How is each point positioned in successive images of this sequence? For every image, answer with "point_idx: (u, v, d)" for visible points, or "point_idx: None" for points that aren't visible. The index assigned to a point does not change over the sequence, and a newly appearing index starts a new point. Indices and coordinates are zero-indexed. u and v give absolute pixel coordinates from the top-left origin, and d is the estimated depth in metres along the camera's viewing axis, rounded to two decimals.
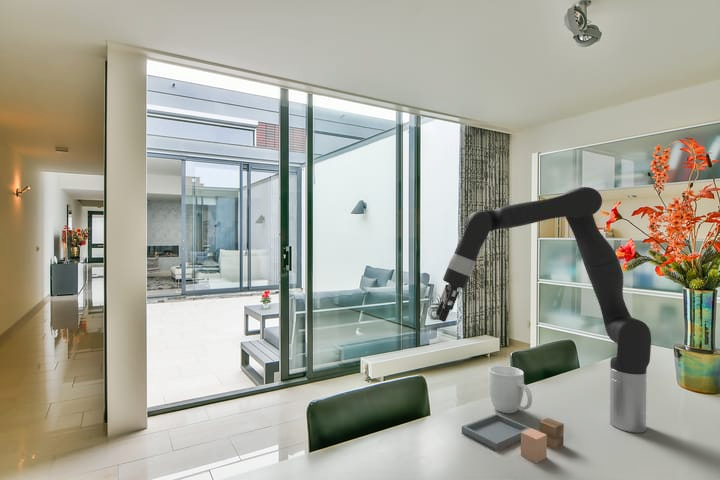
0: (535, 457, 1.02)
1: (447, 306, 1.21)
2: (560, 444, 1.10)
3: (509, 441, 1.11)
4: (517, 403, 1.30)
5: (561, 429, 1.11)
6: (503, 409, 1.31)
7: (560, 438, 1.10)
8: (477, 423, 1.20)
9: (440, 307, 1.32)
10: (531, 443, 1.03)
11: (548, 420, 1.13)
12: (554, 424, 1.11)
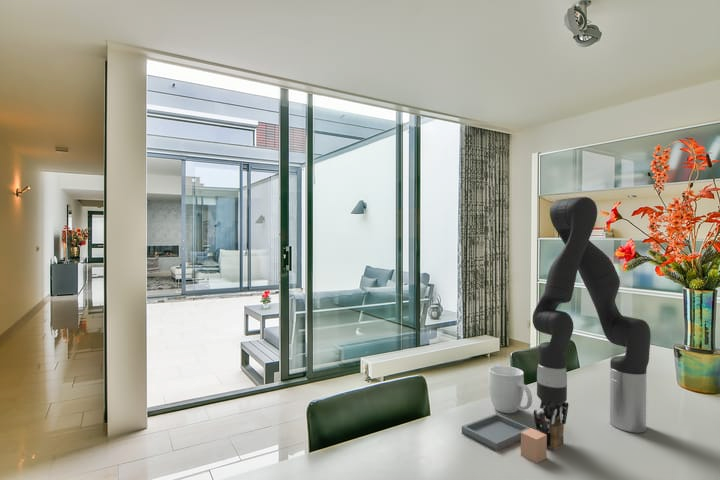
0: (535, 457, 1.02)
1: (538, 429, 1.09)
2: (560, 444, 1.10)
3: (509, 441, 1.11)
4: (517, 403, 1.30)
5: (561, 429, 1.11)
6: (503, 409, 1.31)
7: (560, 438, 1.10)
8: (477, 423, 1.20)
9: None
10: (531, 443, 1.03)
11: (548, 420, 1.13)
12: (554, 424, 1.11)
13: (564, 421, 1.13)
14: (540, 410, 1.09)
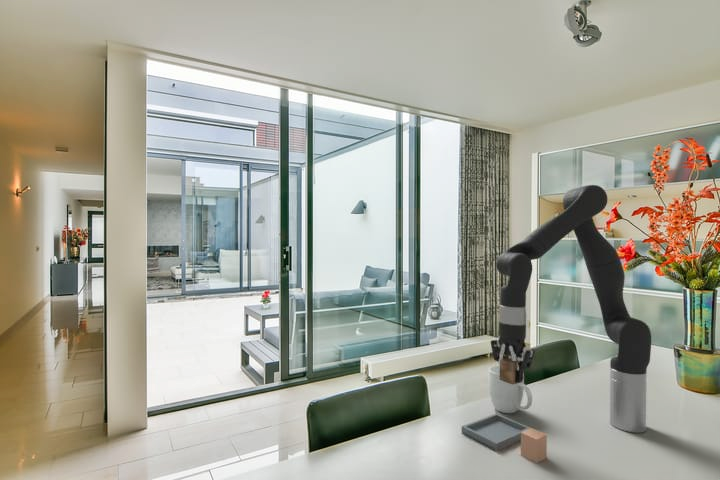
0: (535, 457, 1.02)
1: (526, 367, 1.12)
2: None
3: (509, 441, 1.11)
4: (517, 403, 1.30)
5: None
6: (503, 409, 1.31)
7: None
8: (477, 423, 1.20)
9: None
10: (531, 443, 1.03)
11: (507, 360, 1.17)
12: None
13: None
14: (528, 349, 1.13)
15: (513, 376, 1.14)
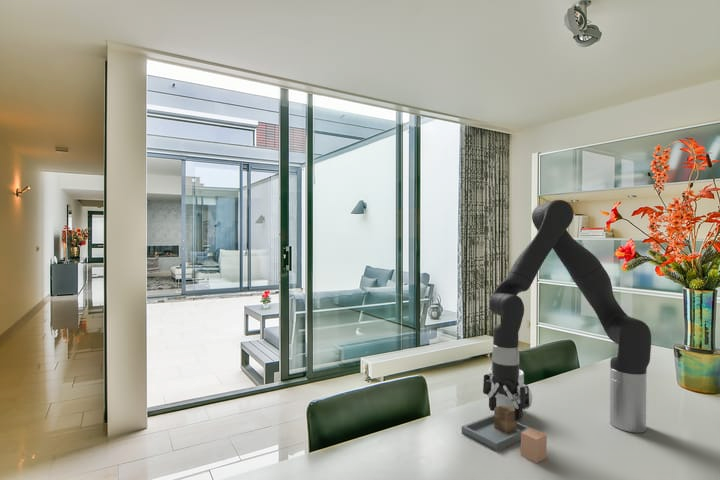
0: (535, 457, 1.02)
1: (525, 406, 1.13)
2: None
3: (509, 441, 1.11)
4: None
5: None
6: None
7: None
8: (477, 423, 1.20)
9: (493, 401, 1.22)
10: (531, 443, 1.03)
11: (501, 408, 1.19)
12: (508, 408, 1.20)
13: None
14: (521, 386, 1.15)
15: (508, 425, 1.16)
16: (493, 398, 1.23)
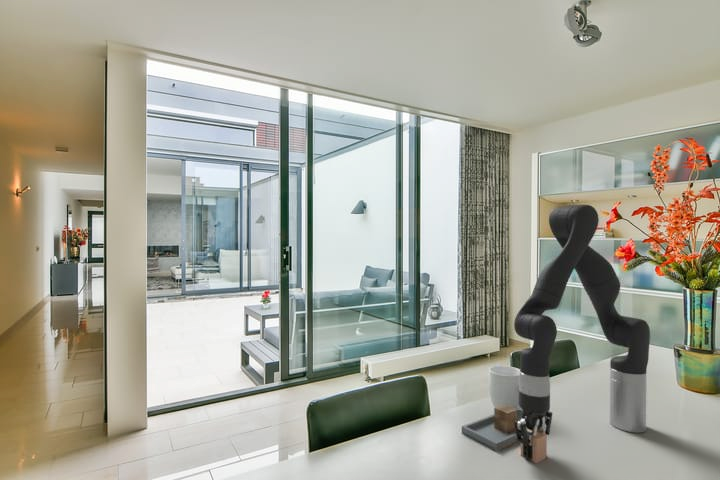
0: (535, 457, 1.02)
1: (520, 440, 1.03)
2: None
3: (509, 441, 1.11)
4: (517, 403, 1.30)
5: None
6: None
7: None
8: (477, 423, 1.20)
9: None
10: None
11: (501, 408, 1.19)
12: (508, 408, 1.20)
13: (547, 432, 1.07)
14: (521, 421, 1.02)
15: (508, 425, 1.16)
16: None
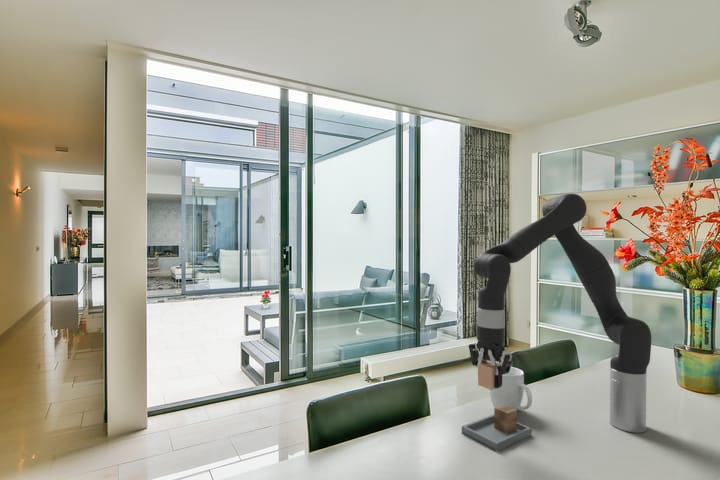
0: None
1: (505, 372, 1.09)
2: None
3: (509, 441, 1.11)
4: (517, 403, 1.30)
5: None
6: None
7: None
8: (477, 423, 1.20)
9: None
10: None
11: (501, 408, 1.19)
12: (508, 408, 1.20)
13: None
14: (507, 353, 1.09)
15: (508, 425, 1.16)
16: None
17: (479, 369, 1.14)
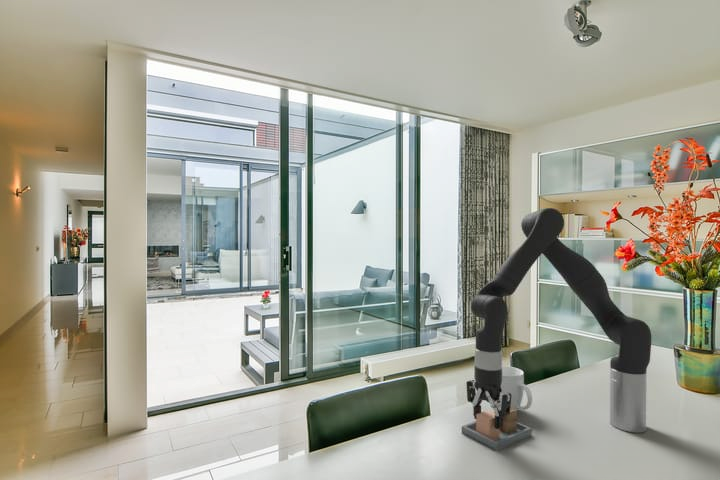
0: (498, 433, 1.14)
1: (506, 414, 1.09)
2: None
3: (509, 441, 1.11)
4: (517, 403, 1.30)
5: None
6: None
7: None
8: None
9: (477, 410, 1.17)
10: None
11: None
12: None
13: None
14: (504, 393, 1.10)
15: (508, 425, 1.16)
16: (478, 406, 1.17)
17: (477, 419, 1.15)
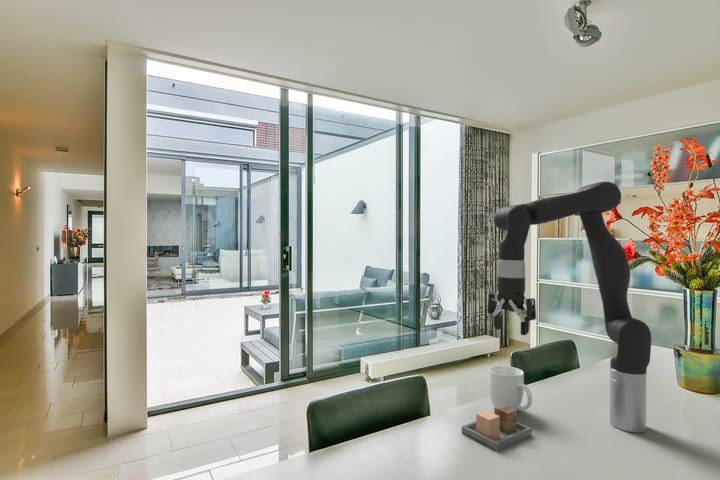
0: (498, 433, 1.14)
1: (532, 318, 1.10)
2: None
3: (509, 441, 1.11)
4: (517, 403, 1.30)
5: None
6: None
7: None
8: None
9: (497, 320, 1.19)
10: (496, 423, 1.13)
11: (501, 408, 1.19)
12: (508, 408, 1.20)
13: None
14: None
15: (508, 425, 1.16)
16: (498, 316, 1.19)
17: (477, 419, 1.15)
